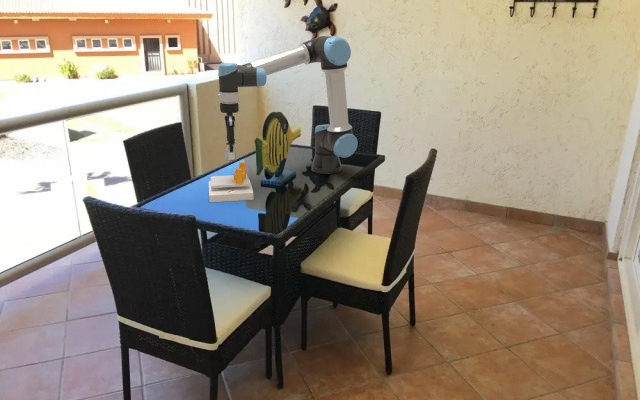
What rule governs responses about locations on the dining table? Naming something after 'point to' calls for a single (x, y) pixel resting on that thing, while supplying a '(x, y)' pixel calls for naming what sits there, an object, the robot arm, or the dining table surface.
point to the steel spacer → (227, 154)
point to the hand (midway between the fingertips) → (231, 157)
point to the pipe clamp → (240, 173)
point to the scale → (229, 189)
